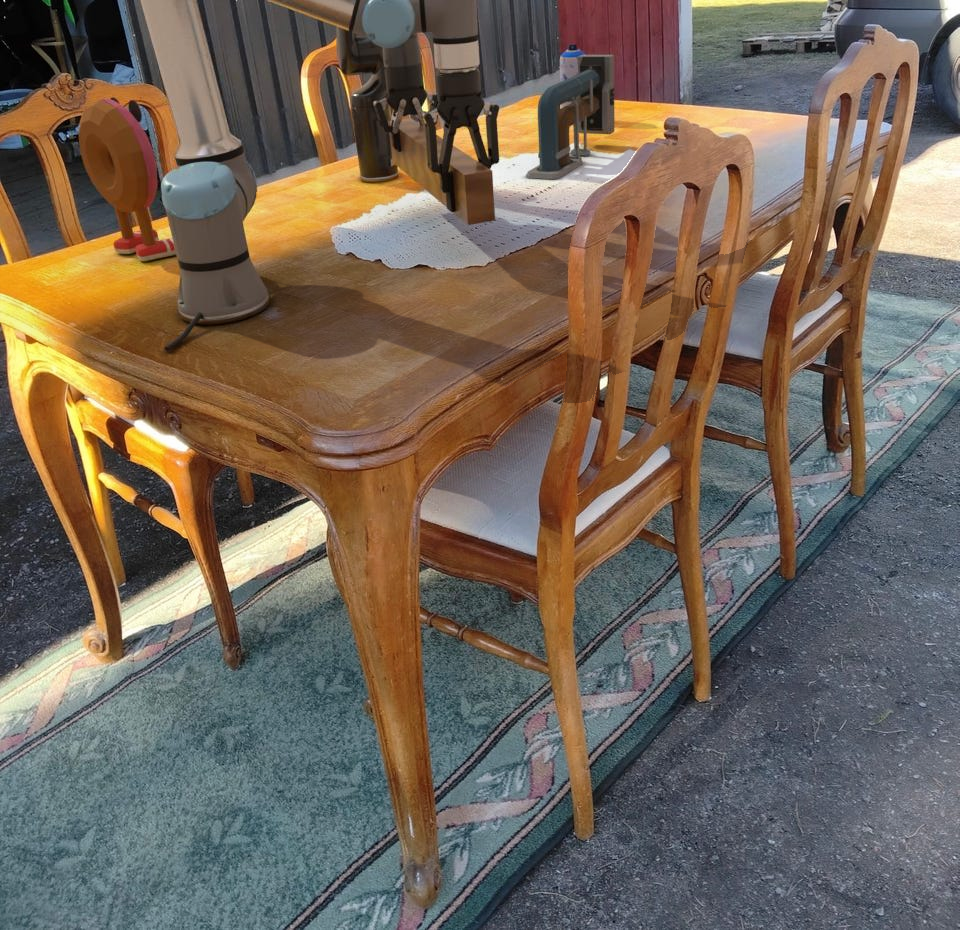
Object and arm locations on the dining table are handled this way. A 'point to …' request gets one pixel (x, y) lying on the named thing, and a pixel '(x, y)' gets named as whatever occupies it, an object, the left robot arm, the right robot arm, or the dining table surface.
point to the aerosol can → (569, 65)
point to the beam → (467, 172)
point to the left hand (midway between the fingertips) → (466, 207)
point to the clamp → (574, 115)
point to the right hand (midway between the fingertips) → (411, 149)
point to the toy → (123, 172)
